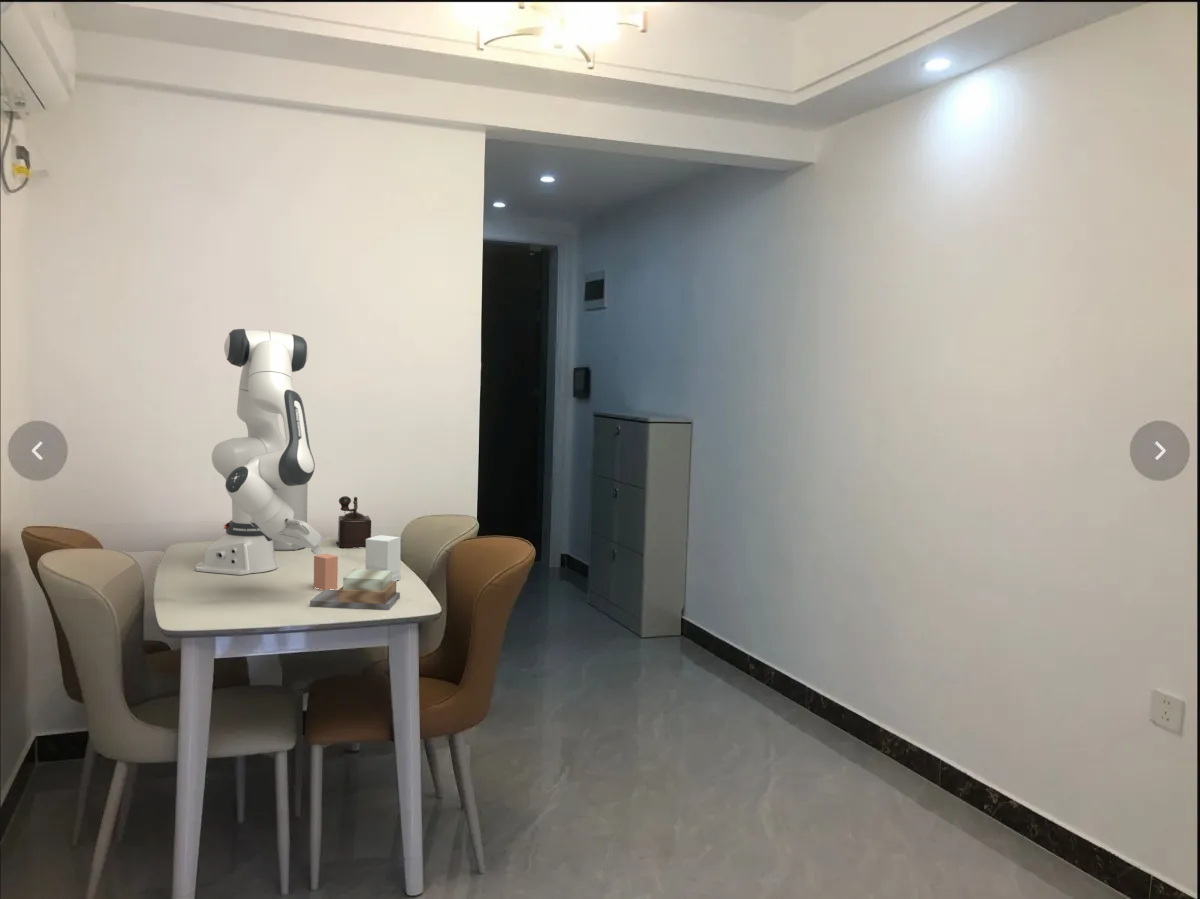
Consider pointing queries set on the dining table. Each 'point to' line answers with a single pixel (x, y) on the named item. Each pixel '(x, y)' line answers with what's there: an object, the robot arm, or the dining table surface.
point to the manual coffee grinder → (352, 526)
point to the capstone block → (325, 571)
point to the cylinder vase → (298, 504)
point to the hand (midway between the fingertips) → (307, 549)
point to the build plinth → (333, 598)
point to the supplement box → (384, 554)
